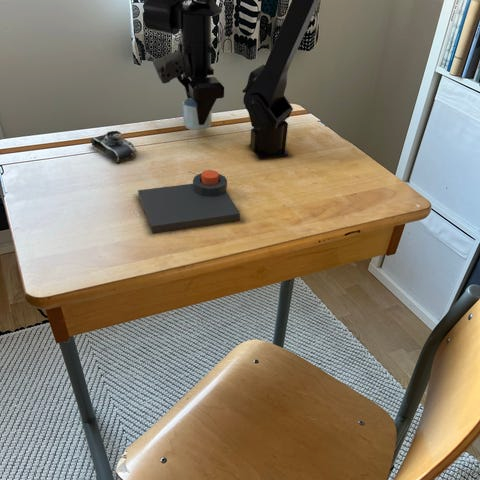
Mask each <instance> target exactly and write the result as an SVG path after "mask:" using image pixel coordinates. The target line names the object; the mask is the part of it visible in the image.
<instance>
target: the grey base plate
mask: <svg viewBox="0 0 480 480" xmlns="http://www.w3.org/2000/svg"><path fill="white" fill-rule="evenodd" d="M218 174H219V180H218V184H216V185H205V184H203V183H202V172H201V173H198V174H196V175H194V177H193V179H192V183H189V184H188V183H187V184H178V185H169V186H163V187H154V188H153V187H152V188H146V189H138V190H137V194H138V195H137V196H138V199H139V201H140V204H141V207H142V209H143V212H144V215H145V218H146V220H147V222H148V226H149V228H150V231H151V232H152V234H155V233H162V232H168V231H170V232H171V231H177V230H183V229H190V228H196V227H204V226H210V225H218V224H224V223H225V224H226V223H230V222H237V221H238V222H239V221H240V220H241V212H240V210H239V209H238V207H237V206H236V205H235V203H234V202H233V200H232V198H231V197H230V195H229V194H228V192H227V189H228V179H227V178H226V176H225V175H223V174H221V173H218Z"/></svg>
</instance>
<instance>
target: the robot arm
mask: <svg viewBox="0 0 480 480" xmlns="http://www.w3.org/2000/svg"><path fill="white" fill-rule="evenodd" d="M188 1H191V2H190V3H189V4H184V2H188ZM320 1H321V0H291V2H290V5H289V7H288V9H287V12H286V13H285V17H284V19H283V21H282V24H281V26H280V28H279V31H278V33H277V36H276V38H275V40H274V43H273V44H272V48H271V50H270V52H269V55H268V57H267V59H266V62H265V64H262V65H260V66H258V67H257V68H255V69H253V70H252V71H250V73H249V75H248V78H247V83H246V85H245V87H244V89H242V93H244V95H243V98H242V99H243V100H242V103H243V105H244V107H245V110H246V111H247V113H248V116H249V120H250V124H251V127H252V128H251V129H250V140H249V141H250V143H249V148H250V149H251V151H252V152H253V153H254V154H255V155H256V157H257V158H258V159H260V160H263V159H264V160H265V159H272V158H273V159H274V158H281V157H288V156H289V152H288V151H287V150H286V147H287V146H286V145H287V137H288V129H289V128H288V127H289V123H288V122H287V119H289V118H290V117H291V115H292V112H293V110H294V107H293V106H292V104H291V103H290V101H289V100H288V99H287V97H286V96H285V92H286V89H287V85H288V72H289V69H290V67H291V66H292V65H291V64H292V63H293V60H294V58H295V56H296V53H297V51H298V49H299V47H300V45H301V42H302V40H303V38H304V36H305V33H306V32H307V29H308V27H309V25H310V23H311V21H312V18H313V16H314V14H315V12H316V9H317V8H318V5H319V3H320ZM222 12H223V10H222V8H221V7H220V6H219V5H218V4H217V3H216V1H215V0H206V1H204V2H203V1H197V0H146V2H145V4H144V8H143V12H142V20H143V24H144V26H145V28H146V29H147V30H149V31H151V32H156V33H157V32H158V33H163V34H168V35H174V36H175V35H178V33H179V32H180V33H181V35H180V36H181V40H180V41H178V43H177V50H176V51H174V52H170V53H168V54H166V55H164V56H162V57H159V58H157V59H155V60H154V61H153V62H152V65H153V67H154V69H155V72H156V74H157V77H158V79H159V80H160V81H161V83H162V84H168V83H170V82H171V81H172V80H174V79H177V81H178V82H179V84H181V85H182V86H183V87H184V91H185V94H186V99H188V98H192V99H193V100H194V101H195V106H196V111H197V117H198V122H199V125H204V124H205V122H206V119H207V117H208V115H209V113H210V111H211V109H213V108H214V105H215V103H216V101H217V100H218V99H224V98H225V86H224V85H223V84H222V83H221V82H220V81H219V80H218V78H217V77H215V76H214V74H215V70H214V68H213V67H212V54H213V53H214V52H215V47H214V45H213V44H212V17H215V16H217V15H220V14H222ZM180 30H181V31H180Z"/></svg>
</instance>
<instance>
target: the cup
mask: <svg viewBox="0 0 480 480" xmlns="http://www.w3.org/2000/svg"><path fill="white" fill-rule="evenodd" d="M212 109H213V108H212ZM212 109H211V111H210V113H209V115H208V117H207V119H206V122H205V124H204V125H199V122H198V117H197V111H196V106H195V101H194V100H193V99H192V98H188V99H187V98H185V99H184V100H183V101H182V123H183V126H184V127H185V128H186V129H188V130H189V131H195V132H198V131H199V132H201V131H206V130H208V129H209V128H210V127H211V126H212V123H213V122H212V119H213V113H212V111H213V110H212Z"/></svg>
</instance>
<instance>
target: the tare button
mask: <svg viewBox="0 0 480 480" xmlns="http://www.w3.org/2000/svg"><path fill="white" fill-rule="evenodd" d="M201 173H202V183H203V184H205V185H216V184H218V180H219V174H220V173H219V172H218V171H216V170H214V169H213V170H212V169H209V170H208V169H207V170H204V171H202V172H201Z"/></svg>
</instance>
